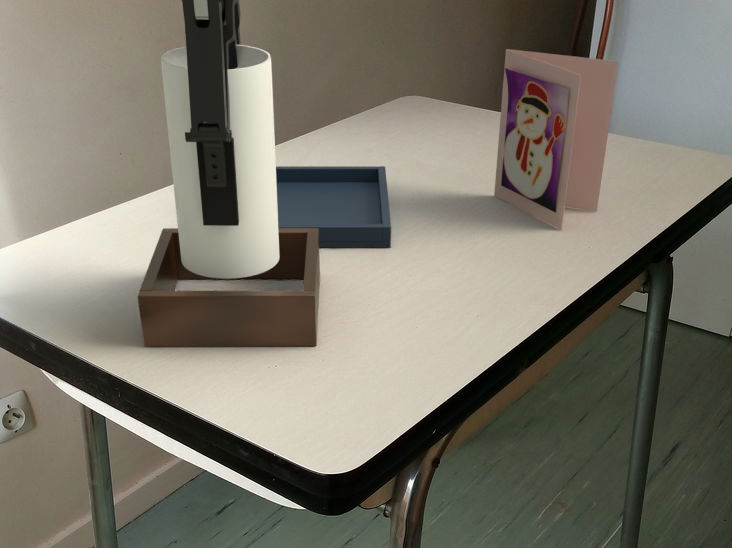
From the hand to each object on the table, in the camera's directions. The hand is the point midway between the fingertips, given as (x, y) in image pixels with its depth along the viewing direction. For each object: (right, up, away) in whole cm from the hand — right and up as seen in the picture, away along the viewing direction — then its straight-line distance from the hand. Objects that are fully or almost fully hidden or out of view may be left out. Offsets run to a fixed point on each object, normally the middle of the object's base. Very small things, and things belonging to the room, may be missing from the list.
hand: (226, 202), depth 82 cm
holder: (0, -8, +6) cm, 9 cm away
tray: (+5, +6, +23) cm, 25 cm away
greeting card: (+31, +7, +26) cm, 41 cm away
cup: (0, -4, +3) cm, 5 cm away
